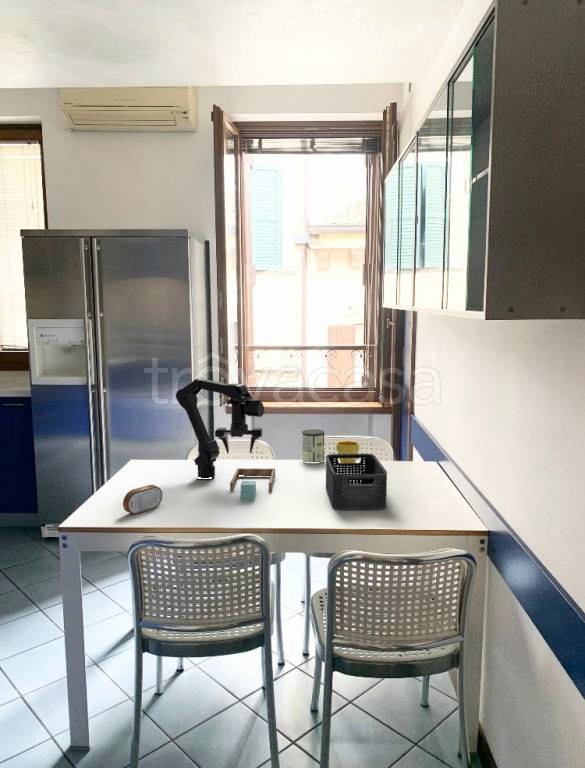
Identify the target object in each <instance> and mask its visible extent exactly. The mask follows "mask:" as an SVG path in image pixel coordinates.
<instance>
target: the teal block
mask: <svg viewBox="0 0 585 768" xmlns="http://www.w3.org/2000/svg"><path fill="white" fill-rule="evenodd" d="M256 485H257V481H256V480H242V481H241V483H240V501H241V502H242V501H244V502H253V501H254V502H255V500H256V498H257V490H256V489H257V486H256Z"/></svg>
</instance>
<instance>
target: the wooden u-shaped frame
mask: <svg viewBox="0 0 585 768" xmlns="http://www.w3.org/2000/svg"><path fill="white" fill-rule="evenodd" d="M239 475H244V476H271V477H269V482H268V492H269V493H272V491H273V488H274V485H275V480H276V468H261V467H260V468H259V467H257V468H253V467H252V468H251V467H250V468H247V467H246V468H245V467H244V468H240V467H239V468H236V470H235V472H234V474H233V476H232V479H231V480H230V482H229V492H230V491H233V492H234V491H235V488H236V486H235V485H237V484H236V482H237V480H238V481H239V479H240V477H239ZM238 478H239V479H238ZM274 479H275V480H274ZM237 483H238V482H237ZM234 487H235V488H234Z"/></svg>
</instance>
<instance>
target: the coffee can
mask: <svg viewBox="0 0 585 768" xmlns="http://www.w3.org/2000/svg"><path fill="white" fill-rule="evenodd" d="M301 433H302V462H303V461H305V462H307V461H308V462H321V461H324V462H325V430H322V429H315V428H314V429H306V430H305V429H304V430H303V431H302V432H301Z"/></svg>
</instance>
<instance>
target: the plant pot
mask: <svg viewBox="0 0 585 768" xmlns="http://www.w3.org/2000/svg"><path fill="white" fill-rule="evenodd" d="M335 445H336V452H337V454H359V453H358V452H359V451H360V443H359V442H357V441H355V440H353V441H351V440H343V441H338V442H336V444H335ZM339 463H357V458H339Z"/></svg>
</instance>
